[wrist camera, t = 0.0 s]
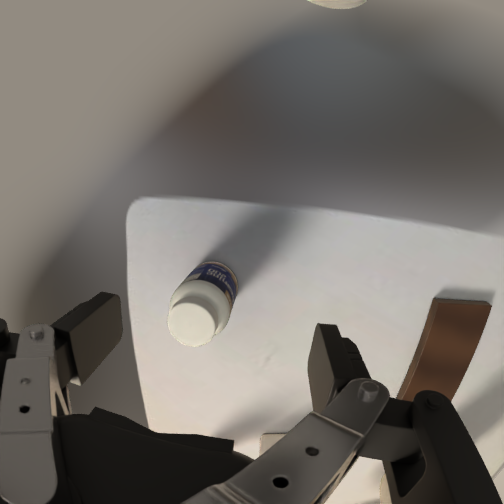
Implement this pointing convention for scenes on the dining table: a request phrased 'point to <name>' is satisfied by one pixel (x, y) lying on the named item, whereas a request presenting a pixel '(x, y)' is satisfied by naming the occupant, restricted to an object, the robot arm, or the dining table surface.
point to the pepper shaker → (268, 441)
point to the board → (445, 347)
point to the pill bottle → (202, 304)
